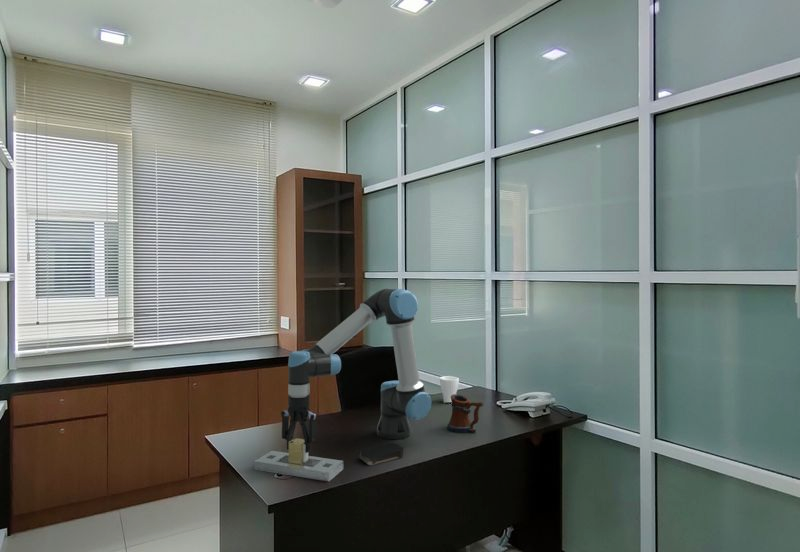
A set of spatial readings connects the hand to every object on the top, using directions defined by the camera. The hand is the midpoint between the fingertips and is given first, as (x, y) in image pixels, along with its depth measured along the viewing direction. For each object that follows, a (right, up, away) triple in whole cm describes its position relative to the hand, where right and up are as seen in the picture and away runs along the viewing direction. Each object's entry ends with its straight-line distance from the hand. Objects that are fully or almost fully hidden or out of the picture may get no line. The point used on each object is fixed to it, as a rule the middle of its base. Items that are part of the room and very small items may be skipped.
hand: (298, 459), depth 172 cm
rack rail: (0, -3, 0) cm, 3 cm away
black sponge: (+30, -4, +11) cm, 32 cm away
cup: (+64, -4, +91) cm, 111 cm away
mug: (+66, -4, +44) cm, 79 cm away
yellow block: (0, 0, 0) cm, 0 cm away
